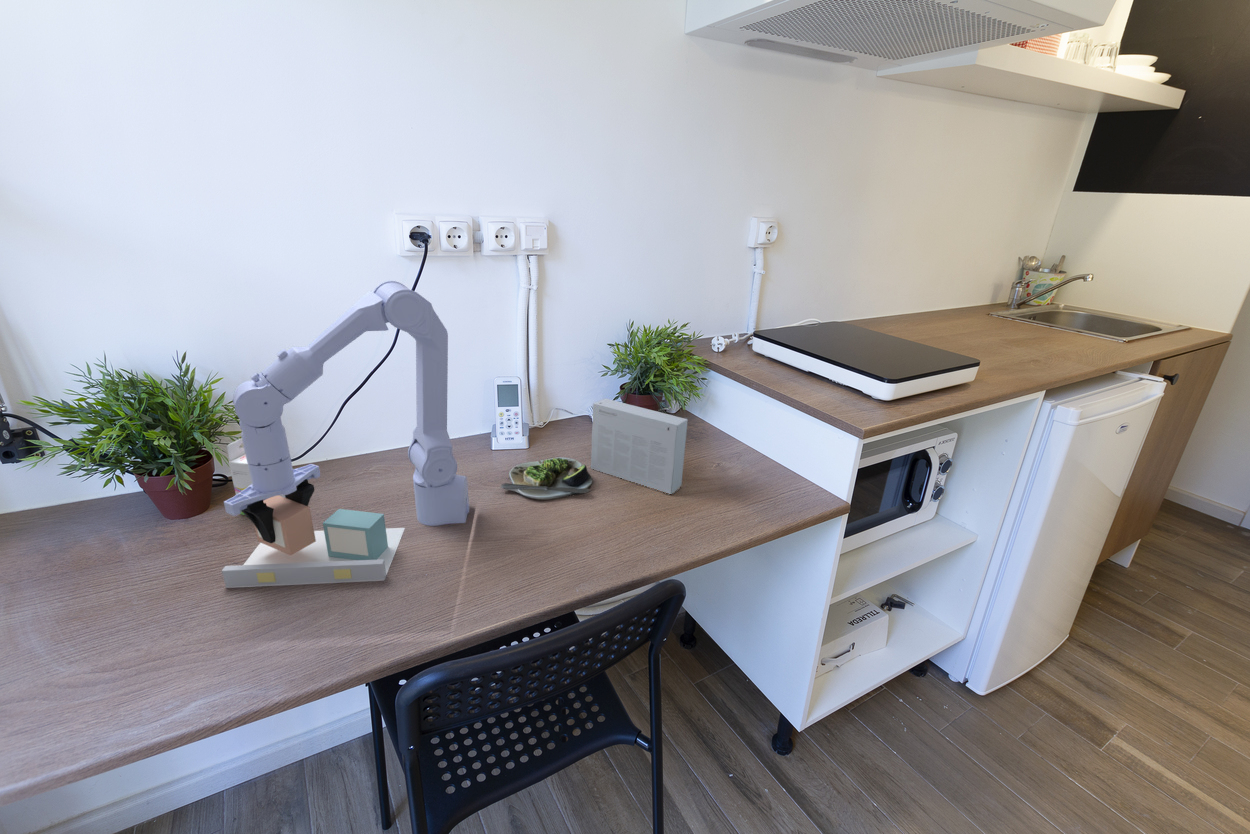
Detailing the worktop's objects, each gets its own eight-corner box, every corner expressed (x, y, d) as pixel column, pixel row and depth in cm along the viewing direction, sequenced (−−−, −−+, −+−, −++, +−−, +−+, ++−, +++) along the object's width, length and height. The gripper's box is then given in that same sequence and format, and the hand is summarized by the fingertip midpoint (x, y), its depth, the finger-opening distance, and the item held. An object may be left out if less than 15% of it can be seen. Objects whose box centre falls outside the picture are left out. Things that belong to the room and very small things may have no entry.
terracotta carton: (283, 528, 99) (276, 494, 97) (315, 541, 96) (309, 507, 93) (256, 541, 95) (249, 507, 93) (289, 556, 92) (282, 520, 89)
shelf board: (405, 532, 105) (403, 513, 104) (384, 585, 92) (382, 564, 90) (269, 537, 102) (265, 517, 101) (226, 593, 88) (220, 571, 87)
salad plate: (510, 513, 114) (509, 492, 112) (491, 473, 129) (490, 454, 127) (602, 497, 121) (603, 477, 119) (574, 461, 136) (575, 443, 134)
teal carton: (344, 541, 100) (339, 508, 98) (388, 546, 100) (383, 513, 97) (328, 557, 96) (322, 523, 94) (373, 562, 95) (368, 529, 93)
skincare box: (683, 486, 126) (689, 418, 120) (671, 496, 122) (677, 426, 116) (603, 460, 136) (605, 396, 130) (589, 468, 132) (590, 403, 126)
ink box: (263, 522, 107) (247, 449, 101) (240, 518, 107) (222, 446, 102) (297, 499, 115) (283, 430, 109) (275, 496, 115) (260, 427, 110)
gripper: (238, 483, 82) (257, 563, 87) (327, 446, 94) (339, 518, 99) (207, 471, 85) (227, 550, 90) (298, 437, 97) (311, 507, 102)
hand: (284, 532), depth 95 cm, fingers closed on terracotta carton, 5 cm apart
